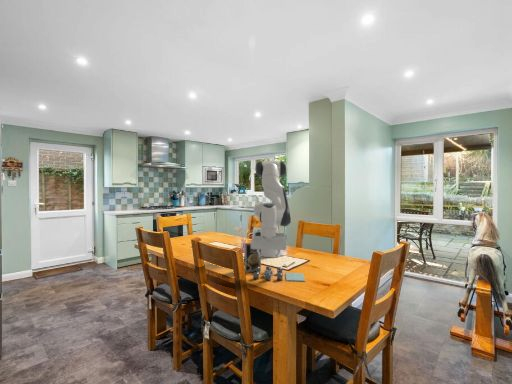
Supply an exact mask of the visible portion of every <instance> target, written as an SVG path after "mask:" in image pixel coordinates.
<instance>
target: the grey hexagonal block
mask: <svg viewBox="0 0 512 384" xmlns="http://www.w3.org/2000/svg"><path fill="white" fill-rule="evenodd" d="M273 272H274V270H272V269H271V270H266V269H265V270H263V278H265V273H271V279H272V278H274V277H273V276H274V275H273V274H274V273H273Z"/></svg>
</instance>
